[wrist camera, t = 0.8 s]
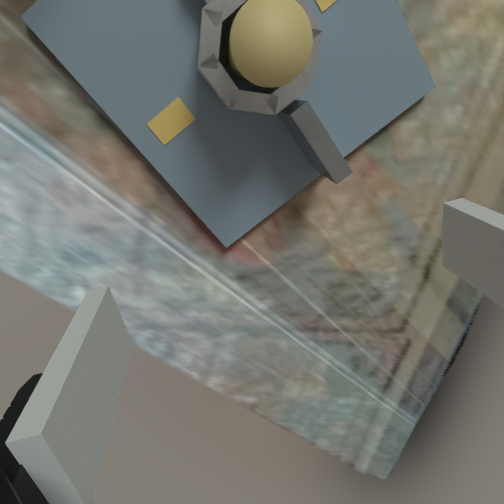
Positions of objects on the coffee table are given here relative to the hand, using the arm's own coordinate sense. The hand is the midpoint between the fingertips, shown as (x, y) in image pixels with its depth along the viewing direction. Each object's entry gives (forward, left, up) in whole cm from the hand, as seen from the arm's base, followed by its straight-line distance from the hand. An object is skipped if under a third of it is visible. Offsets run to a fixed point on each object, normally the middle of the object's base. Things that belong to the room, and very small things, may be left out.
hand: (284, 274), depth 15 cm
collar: (-5, +6, -18) cm, 20 cm away
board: (-6, +6, -20) cm, 22 cm away
